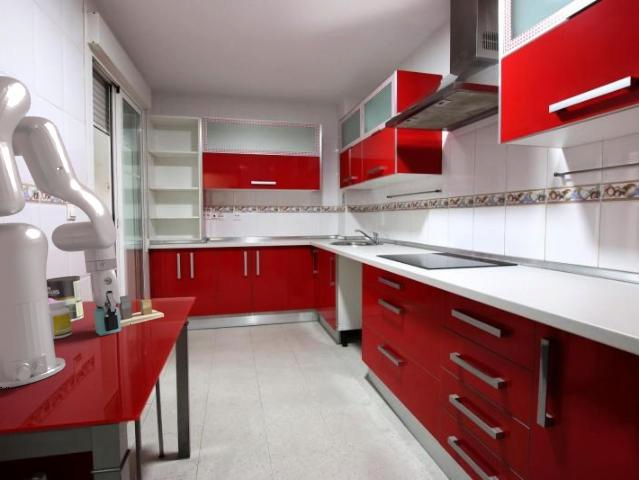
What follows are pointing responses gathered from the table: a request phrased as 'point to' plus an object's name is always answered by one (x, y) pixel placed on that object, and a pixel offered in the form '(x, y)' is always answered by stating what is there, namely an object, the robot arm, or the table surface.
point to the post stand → (130, 318)
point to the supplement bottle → (60, 319)
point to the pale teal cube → (100, 323)
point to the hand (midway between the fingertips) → (108, 327)
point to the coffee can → (67, 294)
